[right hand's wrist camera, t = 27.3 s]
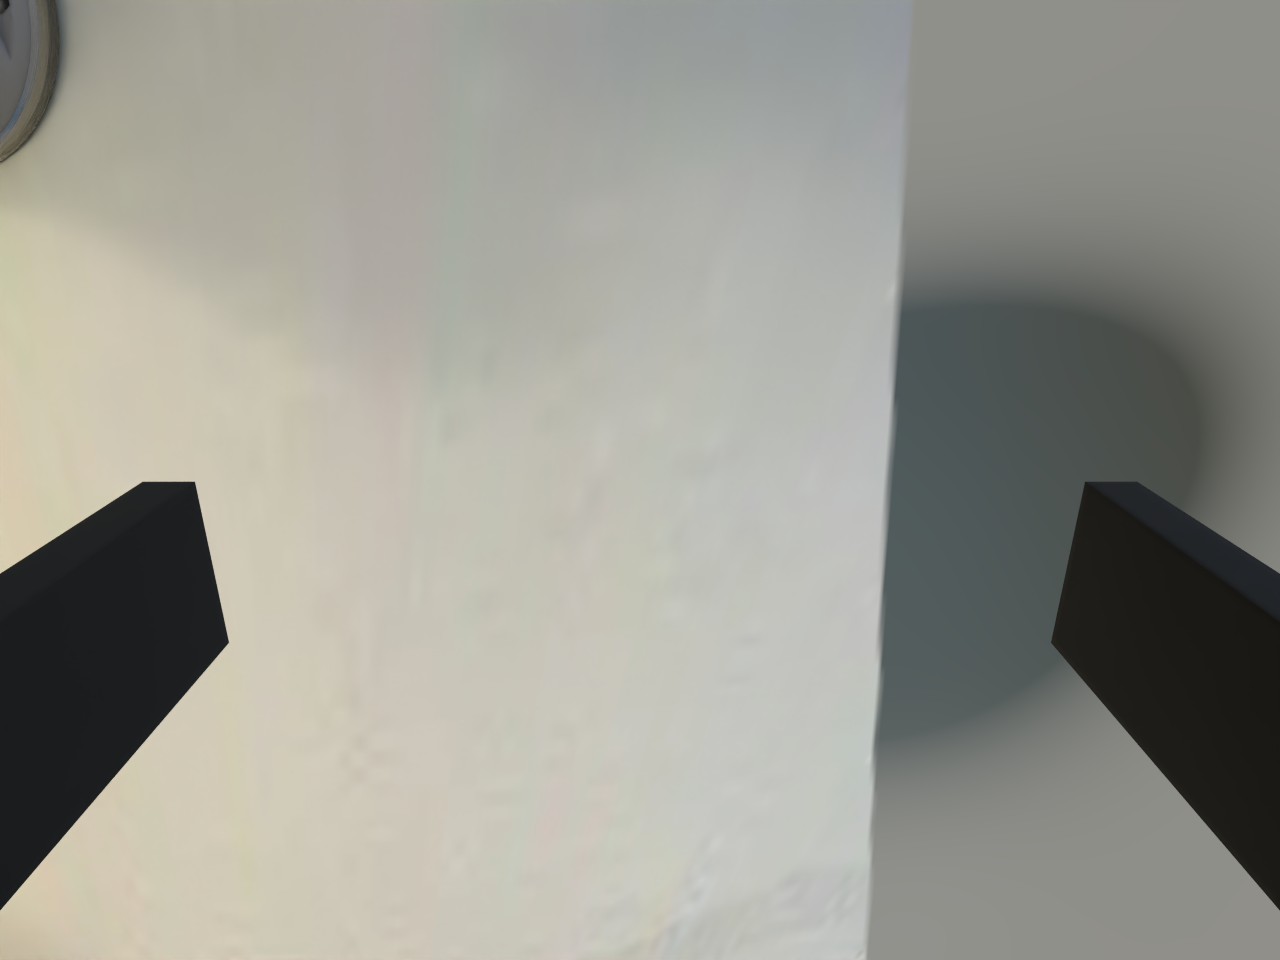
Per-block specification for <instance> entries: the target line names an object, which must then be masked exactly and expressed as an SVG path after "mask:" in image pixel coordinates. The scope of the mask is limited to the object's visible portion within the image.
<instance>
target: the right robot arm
mask: <svg viewBox="0 0 1280 960" xmlns="http://www.w3.org/2000/svg"><path fill="white" fill-rule="evenodd" d="M58 54H59V27H58V18H57V9H56V4H55V0H0V161H2V160H4V159H5V158H6V157H8V156H9V155H10V154H11V153H13V152H14V151H15V150H16V149H17V148H18V147H19V146H20V145H21V144H22V143H23V142H24V141H25V140H26V139H27V138H28V137H29V135H30V134H31V133H32V131H33V130H34V129H35V127H36V126H37V124H38V122H39V120H40V119H41V117H42V115H43V113H44V111H45V109H46V106H47V104H48V102H49V99H50V96H51V93H52V89H53V86H54V83H55V77H56V71H57V66H58ZM228 643H229V641H228V636H227V631H226V627H225V622H224V617H223V612H222V608H221V603H220V598H219V594H218V589H217V584H216V579H215V575H214V570H213V565H212V560H211V556H210V551H209V546H208V542H207V537H206V532H205V527H204V523H203V518H202V513H201V509H200V504H199V499H198V494H197V490H196V485H195V482H142V483H140V484H139V485H137V486H136V487H134V488H133V489H131V490H129V491H128V492H126V493H125V494H123V495H122V496H120V497H119V498H117V499H115V500H114V501H112V502H111V503H109V504H108V505H106V506H105V507H103V508H102V509H100V510H98V511H97V512H95V513H94V514H92V515H91V516H89V517H88V518H86V519H84V520H83V521H81V522H80V523H78V524H77V525H75V526H74V527H72V528H70V529H69V530H67V531H66V532H64V533H63V534H61V535H60V536H58V537H57V538H55V539H53V540H52V541H50V542H49V543H47V544H46V545H44V546H43V547H41V548H39V549H38V550H36V551H35V552H33V553H32V554H30V555H29V556H27V557H25V558H24V559H22V560H21V561H19V562H18V563H16V564H15V565H13V566H12V567H10V568H8V569H7V570H5V571H4V572H2V573H1V574H0V910H1V909H2V908H3V906H4V905H5V904H6V903H7V902H8V901H9V899H10V898H11V897H12V896H13V895H14V894H15V892H16V891H17V890H18V889H19V888H20V887H21V885H22V884H23V883H24V882H25V881H26V880H27V878H28V877H29V876H30V875H31V874H32V873H33V871H34V870H35V869H36V868H37V867H38V865H39V864H40V863H41V862H42V861H43V860H44V858H45V857H46V856H47V855H48V854H49V853H50V851H51V850H52V849H53V848H54V847H55V846H56V844H57V843H58V842H59V841H60V840H61V839H62V837H63V836H64V835H65V834H66V833H67V832H68V830H69V829H70V828H71V827H72V826H73V825H74V823H75V822H76V821H77V820H78V819H79V818H80V816H81V815H82V814H83V813H84V812H85V810H86V809H87V808H88V807H89V806H90V805H91V803H92V802H93V801H94V800H95V799H96V798H97V796H98V795H99V794H100V793H101V792H102V791H103V789H104V788H105V787H106V786H107V785H108V784H109V782H110V781H111V780H112V779H113V778H114V777H115V775H116V774H117V773H118V772H119V771H120V770H121V768H122V767H123V766H124V765H125V764H126V763H127V761H128V760H129V759H130V758H131V757H132V755H133V754H134V753H135V752H136V751H137V750H138V748H139V747H140V746H141V745H142V744H143V743H144V741H145V740H146V739H147V738H148V737H149V736H150V734H151V733H152V732H153V731H154V730H155V729H156V727H157V726H158V725H159V724H160V723H161V722H162V720H163V719H164V718H165V717H166V716H167V715H168V713H169V712H170V711H171V710H172V709H173V707H174V706H175V705H176V704H177V703H178V702H179V700H180V699H181V698H182V697H183V696H184V695H185V693H186V692H187V691H188V690H189V689H190V688H191V686H192V685H193V684H194V683H195V682H196V681H197V679H198V678H199V677H200V676H201V675H202V674H203V672H204V671H205V670H206V669H207V668H208V667H209V665H210V664H211V663H212V662H213V661H214V660H215V658H216V657H217V656H218V655H219V654H220V652H221V651H222V650H223V649H224V648H225V647H226V645H227V644H228ZM1051 643H1052V644H1053V645H1054V647H1055V648H1056V649H1057V650H1058V651H1059V652H1060V654H1061V655H1062V656H1063V657H1064V658H1065V659H1066V661H1067V662H1068V663H1069V664H1070V665H1071V667H1072V668H1073V669H1074V670H1075V671H1076V672H1077V674H1078V675H1079V676H1080V677H1081V678H1082V679H1083V681H1084V682H1085V683H1086V684H1087V685H1088V686H1089V687H1090V689H1091V690H1092V691H1093V692H1094V693H1095V695H1096V696H1097V697H1098V698H1099V699H1100V700H1101V702H1102V703H1103V704H1104V705H1105V706H1106V707H1107V709H1108V710H1109V711H1110V712H1111V713H1112V714H1113V716H1114V717H1115V718H1116V719H1117V720H1118V722H1119V723H1120V724H1121V725H1122V726H1123V727H1124V729H1125V730H1126V731H1127V732H1128V733H1129V734H1130V736H1131V737H1132V738H1133V739H1134V740H1135V741H1136V743H1137V744H1138V745H1139V746H1140V747H1141V748H1142V750H1143V751H1144V752H1145V753H1146V754H1147V755H1148V757H1149V758H1150V759H1151V760H1152V761H1153V763H1154V764H1155V765H1156V766H1157V767H1158V768H1159V770H1160V771H1161V772H1162V773H1163V774H1164V775H1165V777H1166V778H1167V779H1168V780H1169V781H1170V782H1171V784H1172V785H1173V786H1174V787H1175V788H1176V789H1177V791H1178V792H1179V793H1180V794H1181V795H1182V796H1183V798H1184V799H1185V800H1186V801H1187V802H1188V803H1189V805H1190V806H1191V807H1192V808H1193V809H1194V810H1195V812H1196V813H1197V814H1198V815H1199V816H1200V818H1201V819H1202V820H1203V821H1204V822H1205V823H1206V824H1207V826H1208V827H1209V828H1210V829H1211V830H1212V832H1213V833H1214V834H1215V835H1216V836H1217V837H1218V839H1219V840H1220V841H1221V842H1222V843H1223V844H1224V846H1225V847H1226V848H1227V849H1228V850H1229V851H1230V853H1231V854H1232V855H1233V856H1234V857H1235V858H1236V860H1237V861H1238V862H1239V863H1240V864H1241V865H1242V867H1243V868H1244V869H1245V870H1246V871H1247V873H1248V874H1249V875H1250V876H1251V877H1252V878H1253V880H1254V881H1255V882H1256V883H1257V884H1258V885H1259V887H1260V888H1261V889H1262V890H1263V891H1264V892H1265V894H1266V895H1267V896H1268V897H1269V898H1270V899H1271V901H1272V902H1273V903H1274V904H1275V905H1276V906H1277V908H1278V909H1279V910H1280V574H1279V573H1278V572H1276V571H1275V570H1273V569H1272V568H1270V567H1268V566H1267V565H1265V564H1264V563H1262V562H1261V561H1259V560H1258V559H1256V558H1255V557H1253V556H1251V555H1250V554H1248V553H1247V552H1245V551H1244V550H1242V549H1241V548H1239V547H1237V546H1236V545H1234V544H1233V543H1231V542H1230V541H1228V540H1227V539H1225V538H1223V537H1222V536H1220V535H1219V534H1217V533H1216V532H1214V531H1213V530H1211V529H1209V528H1208V527H1206V526H1205V525H1203V524H1202V523H1200V522H1199V521H1197V520H1195V519H1194V518H1192V517H1191V516H1189V515H1188V514H1186V513H1185V512H1183V511H1182V510H1180V509H1178V508H1177V507H1175V506H1174V505H1172V504H1171V503H1169V502H1168V501H1166V500H1165V499H1163V498H1161V497H1160V496H1158V495H1157V494H1155V493H1154V492H1152V491H1151V490H1149V489H1147V488H1146V487H1144V486H1143V485H1141V484H1140V483H1138V482H1085V485H1084V490H1083V494H1082V499H1081V504H1080V509H1079V513H1078V518H1077V523H1076V528H1075V532H1074V537H1073V542H1072V546H1071V551H1070V556H1069V560H1068V565H1067V570H1066V575H1065V580H1064V584H1063V589H1062V594H1061V599H1060V603H1059V608H1058V612H1057V617H1056V622H1055V627H1054V632H1053V636H1052V641H1051Z"/></svg>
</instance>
